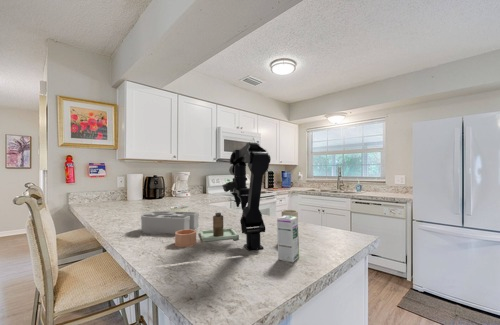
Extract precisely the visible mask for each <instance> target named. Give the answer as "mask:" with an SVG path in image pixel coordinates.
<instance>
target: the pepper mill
mask: <svg viewBox="0 0 500 325" xmlns="http://www.w3.org/2000/svg"><path fill="white" fill-rule="evenodd" d="M214 214H215V215H213V216H212V230H213V236H214V237H219V236H223V235H224V229H225V228H224V215H223V214H222V213H221V212H215V213H214Z"/></svg>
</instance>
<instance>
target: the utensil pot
mask: <svg viewBox="0 0 500 325" xmlns="http://www.w3.org/2000/svg"><path fill="white" fill-rule="evenodd" d="M174 237H175V238H174V242H175V243H174V246H175V247H179V248H188V247H192V246H195V245H197V229H195V230H192V229H186V230H180V231H176V232H175V234H174Z"/></svg>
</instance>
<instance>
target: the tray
mask: <svg viewBox="0 0 500 325" xmlns="http://www.w3.org/2000/svg"><path fill="white" fill-rule="evenodd" d="M223 229H224V235H223V236H219V237H214V236H213V229H205V230H199V235H200V238H201V240H202V241H201V242H202V243H203V242H204V243H205V242H213V241H222V240H231V239H232V241H239V240H240V236H239V234H238V233H237V232H236V231H235V230H234V229H233V227H230V228H229V227H228V228H227V227H226V228H223Z"/></svg>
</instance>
